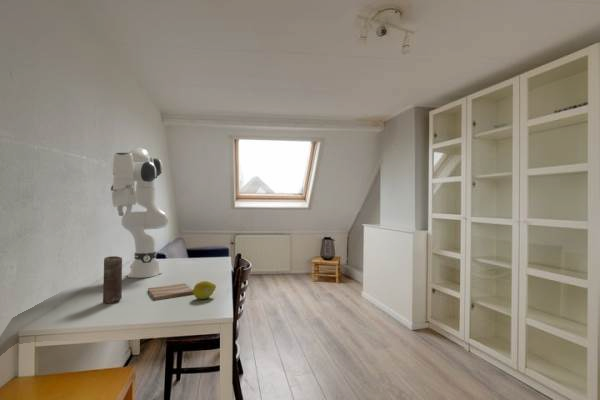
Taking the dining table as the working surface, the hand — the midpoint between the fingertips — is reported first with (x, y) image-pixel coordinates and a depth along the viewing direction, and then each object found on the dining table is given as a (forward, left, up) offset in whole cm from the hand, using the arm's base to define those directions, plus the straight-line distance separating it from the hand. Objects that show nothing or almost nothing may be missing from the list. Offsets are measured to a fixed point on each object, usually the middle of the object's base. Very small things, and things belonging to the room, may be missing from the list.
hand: (124, 215), depth 153 cm
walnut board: (+2, +20, -39) cm, 43 cm away
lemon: (+21, +31, -39) cm, 54 cm away
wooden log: (+3, -5, -39) cm, 39 cm away
